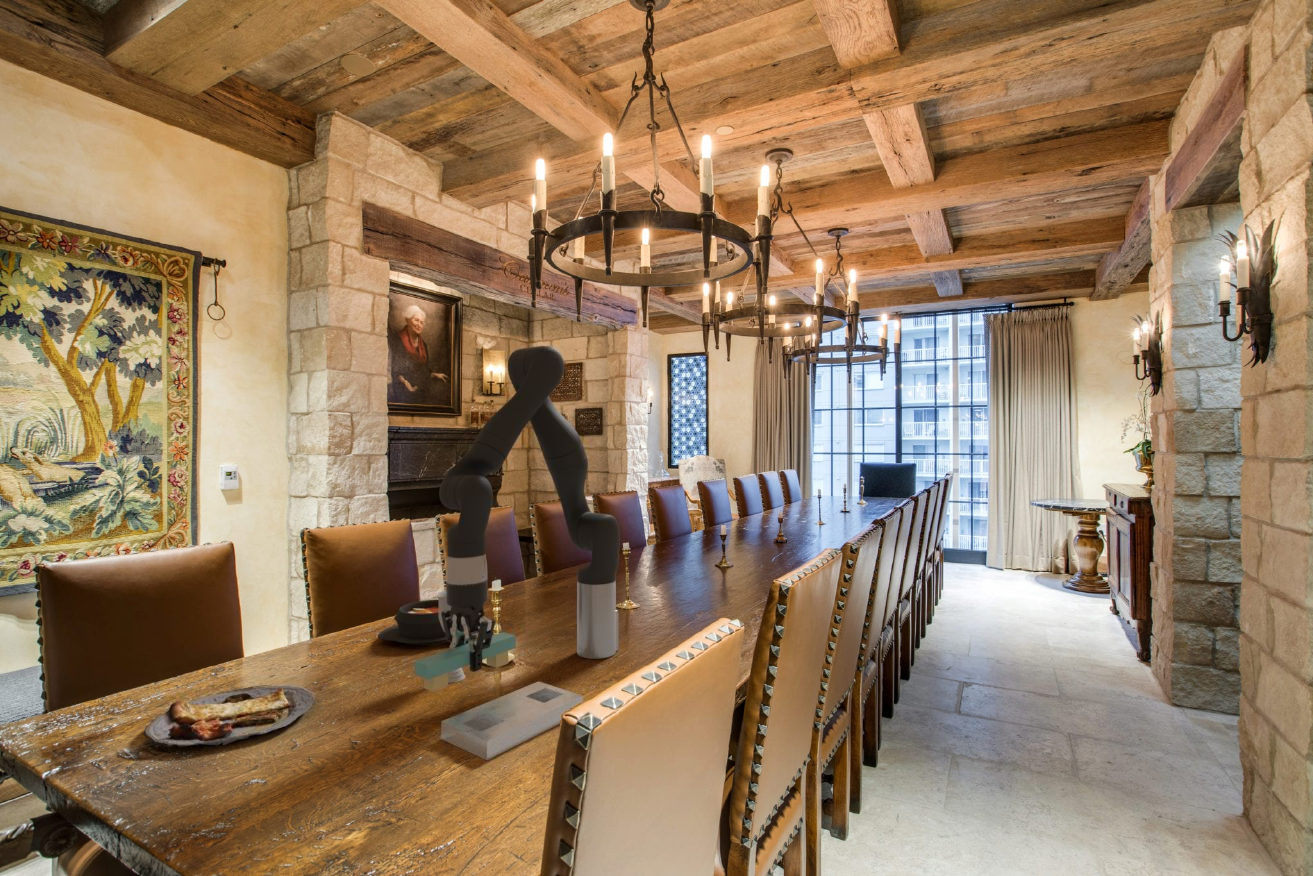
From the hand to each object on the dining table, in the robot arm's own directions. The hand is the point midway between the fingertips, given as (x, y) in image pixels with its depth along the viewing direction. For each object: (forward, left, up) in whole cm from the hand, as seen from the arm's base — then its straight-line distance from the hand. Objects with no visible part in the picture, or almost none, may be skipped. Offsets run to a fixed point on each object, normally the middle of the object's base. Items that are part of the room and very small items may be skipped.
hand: (468, 667), depth 119 cm
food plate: (+29, -28, -8) cm, 41 cm away
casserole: (-20, -42, -7) cm, 47 cm away
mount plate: (0, +14, -7) cm, 16 cm away
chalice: (-7, -14, -7) cm, 17 cm away
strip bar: (0, 0, -2) cm, 2 cm away
